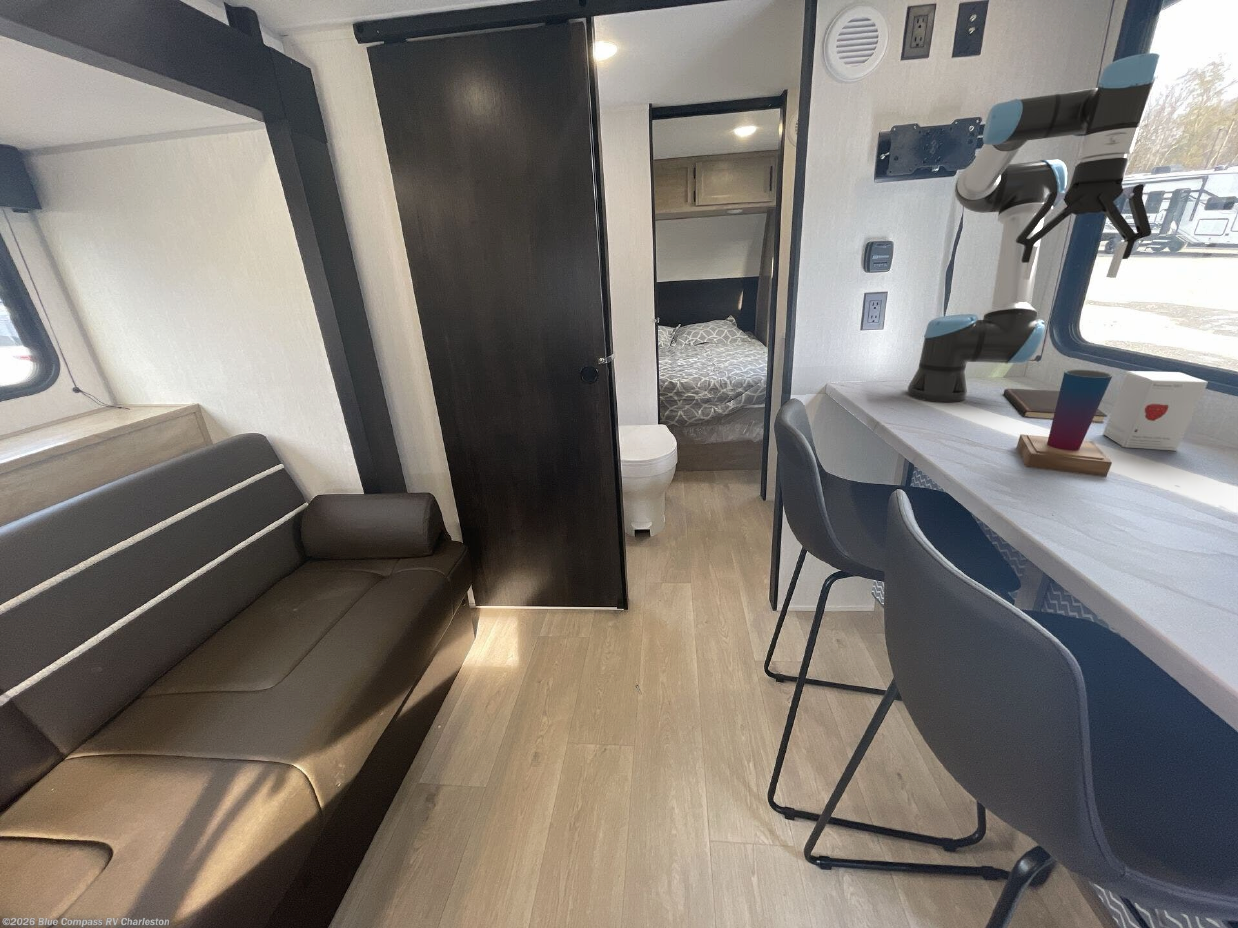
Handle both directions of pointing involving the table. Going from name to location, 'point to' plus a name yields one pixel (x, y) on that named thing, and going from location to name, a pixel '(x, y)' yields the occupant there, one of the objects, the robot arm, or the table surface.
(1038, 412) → the hardcover book
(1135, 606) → the table surface
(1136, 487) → the table surface
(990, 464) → the table surface
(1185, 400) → the supplement box
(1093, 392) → the cup
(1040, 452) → the pedestal
